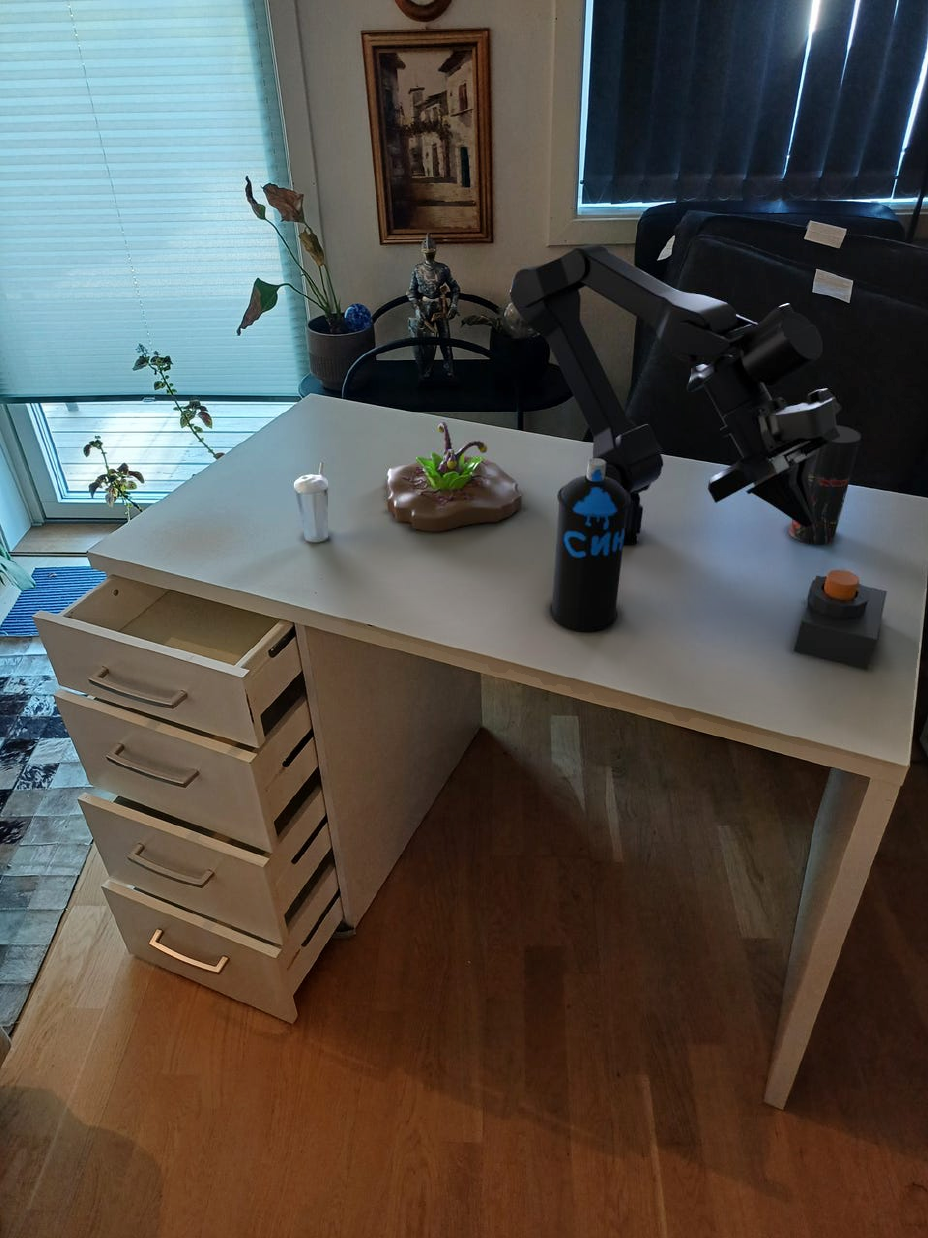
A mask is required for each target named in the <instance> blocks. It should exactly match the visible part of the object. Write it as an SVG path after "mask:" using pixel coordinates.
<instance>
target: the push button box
mask: <svg viewBox="0 0 928 1238" xmlns="http://www.w3.org/2000/svg"><path fill="white" fill-rule="evenodd" d="M826 579H827V575H822V576H821V575H815V579H812V581H811V583H810V586H809V590H808V593H807V597H806V601H807V602H806V606H805V609H804V612H803V615H802V618H801V620H800V625H799V628H798V632H797V635H796V640H795V644H794V648H793V652H797V653H799V654H804V655H808V656H812V657H816V658H820V659H823V660H827V661H831V662H835V663H839V664H843V665H847V666H850V667H854V668H858V669H862V670H867V671H868V670H869V666H870V664H871V660H872V656H873V654H874V650H875V648H876V645H877V641H878V637H879V631H880V627H881V622H882V618H883V613H884V607H885V602H886V599H887V598H886V597H887V592H888V591H887V590H884V589H879V588H876V587H875V588H874V587H870V586H866V585H863V584H861V583H859V584H858V587H857V590H856V594H855V597H854V598H853V599H852V600H840V599H835V598H832V597H830V596H828V595H826V594H825V593H824V586H825V582H826Z"/></svg>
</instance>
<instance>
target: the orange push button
mask: <svg viewBox="0 0 928 1238" xmlns="http://www.w3.org/2000/svg"><path fill="white" fill-rule="evenodd" d="M826 576H827V579H826V582H825V586H824V593H825V594H826V595H828V596H830V597H832V598H835V599H840V600H852V599H853V598H854V597H855V594H856V590H857V587H858V584H860V578H859V577H858V576H857V575H856V574H855V573H853V572H851V571H848V570H845V569H833V570H830V571H829V572H827V575H826Z"/></svg>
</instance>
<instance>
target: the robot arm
mask: <svg viewBox="0 0 928 1238" xmlns="http://www.w3.org/2000/svg"><path fill="white" fill-rule="evenodd" d="M585 287H587V288H589V289H590V290H592V291H594V293H597V294H598V295H600V296H602V297H603V298H605V299H607V300H609V301H610V302H612V303H613V304H615V305H616V306H618V307H620V308H622V309H623V310H625V311H626V312H628V313H630V314H632V315H633V316H635V317H636V318H638V319H639V320H641V321H643V322H645V323H646V324H648V325H649V326H650V327H651V328H652V329H653V330H654V332H655V333H656V336H657V339H658V340H659V342H660V343H661V344H662V345H663V346H664V347H665V348H666V349H667V350H669V351H670V352H671V353H672V354H673V355H674V356H675V357H676V358H678V359H679V360H681V361H683V362H685V363H696V362H698V361H701V360H704V359H707V358H709V357H718V358H716V359H714V360H713V361H712V362H711V363H709V364H708V365H707V364H699V365H696V366H694V367H692V368H691V371H690V372H691V373H690V377H689V380H688V382H687V386H686V391H687V392H688V393H693V392H695V391H697V390H700V389H703V388H704V389H705V391H706V393H707V394H708V396H709V398H710V400H711V401H712V403H713V406H714V407H715V409H716V411H717V413H718V414H719V417H720V418H721V420H722V422H723V425H724V426H723V427H721V428H720V429H719V430H718V431H719V433H720V435H721V437H722V438H723V439H724V438H726V437H728V436H730V437H731V439H732V441H733V442H734V444H735V446H736V447H737V450H738V451H739V453H740V455H741V456H742V457H741V458H739V459H738V460H736V461H735V463H733V464H732V465H730V466H729V467H727V468H725V469H723V470H721V471H720V472H718V473H716V474H715V475H712V476H711V477H709V479H708V485H707V490H708V493H709V494H710V496H711V498H712V500H713V502H714V503H715V504H717V503H718V502H721V501H723V500H724V499H726V498H728V497H730V496H732V495H734V494H735V493H737V492H739V491H742V489H745V488H747V487H748V486H750V485H752V484H753V486H752V487H750V488H749V489H747V490H746V491H745V492H746V494H747V495H751V494H753V495H754V496H756V497H758V498H759V499H761V500H762V501H764V502H766V503H768V504H769V505H771V506H773V508H776V509H777V510H779V511H780V512H782V513H783V514H784V515H786V517H789V518H790V519H791V520H792V519H793V520H794V521H796V522H797V523H799V524H800V525H802V526H803V527H805V528H807V527H809V526H811V525H813V524H814V523H815V515H814V510H813V504H812V498H811V492H810V485H809V471H810V468H811V466H812V463H813V461H814V459H816V458H817V453H816V454H814V455H812V456H810V457H808V458H807V454H809V453H811V452H812V451H814V450H816V449H818V448H820V447H822V446H823V445H825V444H827V443H829V442H831V441H833V440H835V439H836V438H838V437H840V434H839V432H838V430H837V429H836V428H837V425H838V424H837V419H836V416H837V414H838V413H839V412H840V411H841V409H842V405H841V404H840V403H838V402H837V399H836V397H835V396H834V395H833V393H832V392H831V391H830V389H829V388H822V389H816V390H814V391H811V392H810V393H808V394H807V397H806V401H805V402H801V403H799V404H796V405H788V404H787V402H786V400H785V399H784V398H783V397H781V396H780V395H779V396H776V397H774V398H772V396H771V394H770V393H769V391H768V389H767V387H766V386H770V387H772V386H773V387H775V386H777V385H780V383H782V382H784V381H785V380H786V379H788V378H789V377H792V375H794V374H796V373H798V372H799V371H800V370H802V369H804V368H805V367H806V366H808V365H810V364H811V363H813V362H815V361H816V360H818V359H819V358H820V357H821V356H822V353H823V349H824V348H823V347H824V346H823V340H822V337H821V334H820V332H819V330H818V328H817V327H816V325H815V324H812V323H811V321H810V320H809V319H807V318H806V317H805V316H804V315H802V314H801V313H799V312H796V311H794V309H793V308H792V306H791V304H790V303H784V304H782V305H779V306H777V307H776V308H774V309H773V310H771V311H770V312H769V313H768V314H767V316H766V317H764V319H762V320H760V322H758V323H757V322H755V321H753V320H750V319H749V318H746V317H743V316H741V315H739V314H738V313H737V311H736V310H735V309H734V307H732V305H730V304H729V303H728V302H725V301H722V300H719V299H716V298H713V297H711V296H707V295H704V294H699V293H698V294H696V293H692V292H691V293H690V292H684V291H681V290H678V289H675V288H673V287H672V286H669V285H668V284H666V283H664V282H662V281H661V280H660V279H657V278H655V277H654V276H652V275H650V274H649V273H647V272H645V271H644V270H641V269H640V268H638V267H636V266H635V265H633V264H631V263H630V262H627V261H626V260H624V259H622V258H621V257H619V256H617V255H615V254H614V253H612V252H610V251H609V249H608V248H607V247H606V246H605V245H602V244H600V243H591V244H588V245H583V246H579V247H575V248H573V249H571V250H569V251H568V252H567V253H565V254H564V255H562V256H560V257H558V258H556V259H554V260H551V261H549V262H546V263H541V264H537V265H533V266H530V267H526V268H521V269H520V270H518V271H517V272H516V273H515V275H514V276H513V278H512V281H511V288H510V290H509V296H510V300H511V303H512V305H513V307H514V308H515V310H516V311H517V312H518V314H519V316H520V317H521V319H522V320H523V322H524V324H526V325H527V327H529V328H530V329H532V330H533V331H535V332H536V333H537V334H539V335H540V337H543V338H544V339H545V340H546V342H547V344H548V346H549V348H550V350H551V352H552V354H553V357H554V358H555V360H556V362H557V364H558V367H559V369H560V371H561V373H562V375H563V377H564V380H565V381H566V384H567V385H568V388H569V389H570V391H571V393H572V395H573V397H574V399H575V402H576V404H577V405H578V407H579V410H580V411H581V414H582V415H583V418H584V420H585V422H586V424H587V426H588V428H589V429H590V432H591V434H592V437H593V443H592V459H594V458H598V459H602V460H604V461H605V462H606V468H605V477H608V478H610V479H613V480H615V481H616V482H618V483H619V484H620V485H621V486H622V487H623V488H624V490H626V491H627V492H628V494H629V495H630V498H631V503H630V505H629V506H628V508H627V517H626V525H625V534H624V542H623V545H637V544H639V537H638V535H640V534H641V529H642V521H643V512H644V506H643V504H642V500H641V497H640V493H641V492H642V493H643V492H644V491H645V492H646V491H647V490H649V489H650V487H651V485H652V483H655V481H657V480H659V478H660V476H661V474H662V469H663V467H664V460H663V456H662V454H661V452H663V451H664V450H663V447H661V446H660V445H659V442H657V439H656V438H655V434H654V431H653V428H652V427H651V426H650V425H649V423H645V424H643V425H640V426H638V425H637V424H635V423H634V422H632V421H631V420H630V418H629V417H628V416H627V414H626V412H625V410H624V408H623V406H622V404H621V402H620V400H619V398H618V396H617V393H616V391H615V390H614V388H613V386H612V383H611V382H610V380H609V377H608V376H607V373H606V372H605V369H604V367H603V365H602V363H601V361H600V358H599V357H598V355H597V352H596V351H595V349H594V346H593V344H592V343H591V340H590V338H589V336H588V334H587V332H586V330H585V328H584V326H583V324H582V322H581V308H582V307H581V306H582V305H581V303H582V301H581V300H582V297H581V294H580V291H579V290H581V289H583V288H585ZM734 350H738V353H737V354H735V355H734V356H733V355H730V354H727V353H729V352H731V351H734Z"/></svg>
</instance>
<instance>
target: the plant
mask: <svg viewBox="0 0 928 1238" xmlns="http://www.w3.org/2000/svg"><path fill="white" fill-rule="evenodd" d="M437 431H438V432H439V433H441V434H444V451H443V452H442V455H439V454H437V453H435V452H431V453H430V458H425V457H418V456H416V457H415V460H416V461H415V462H412V463H407V464H402V465H399V466H394V467H390V468H389V469H388V472H387V475H386V485H387V494H388V495H387V497H388V498H387V501H386V503H387V511H388V512H389V513H391V514H394V518H395V520H396V521H397V522H402V523H409V524H410V523H411V526H412V528H413V529H414V530H418V531H421V532H423V531H424V532H433V533H434V532H435V533H439V532H443V531H449V530H452V529H456V528H459V527H464V526H469V525H476V524H485V523H497V522H500V521H501V520H503V519H507V518H509V517H511V516H512V515H513V514H514V513H515V512H518V511H520V510H521V509H522V494H520V493H519V492H518V482H517V480H516V479H515V478H513V477H512V476H511V475H509V474H508V473H507V472H506V470H504V469H503V468H502V467H501V466H499V465H498V464H497V463H495V462H493V461H491V460H490V459H486V458H484V457H483V456H477V457H472V456H466V455H465V452H466V451H467V450H468V449H469V448H472V447H474V446H476V447H477V449H478V451H479V452H480V453H481V454H486V453H488V452H487V451H488V446H487V444H486V443H485V442H482V441H480V440H478V441H476V440H474V441H471V442H468V443H466V444H464V445H463V446H462V447H461V448H460V449H459V451H457V452H456V451H455V450H454V449H453V447H452V439H451V435H450V433H449V428H448V424H447V422H445V421H442V422H440V423H439V424H438V426H437Z"/></svg>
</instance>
